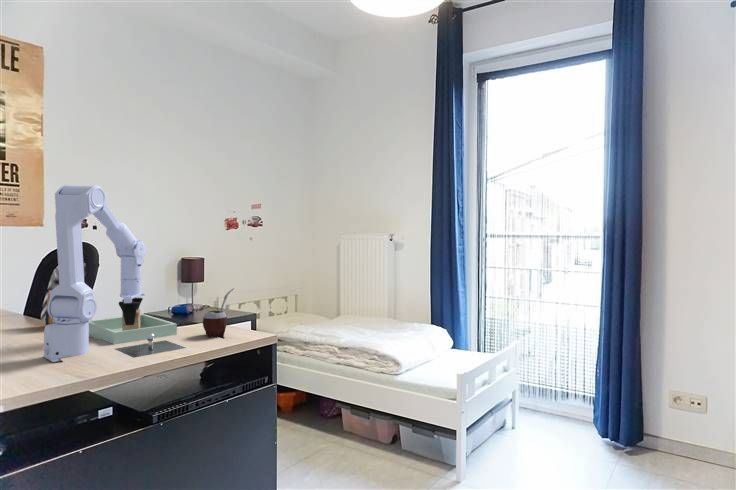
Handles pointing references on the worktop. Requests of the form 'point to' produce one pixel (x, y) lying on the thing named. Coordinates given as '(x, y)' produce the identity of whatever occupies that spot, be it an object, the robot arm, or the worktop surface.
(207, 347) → the worktop surface
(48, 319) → the ammunition clip
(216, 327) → the mate gourd
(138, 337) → the bin
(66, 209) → the robot arm
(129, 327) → the square capped bottle
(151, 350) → the base
